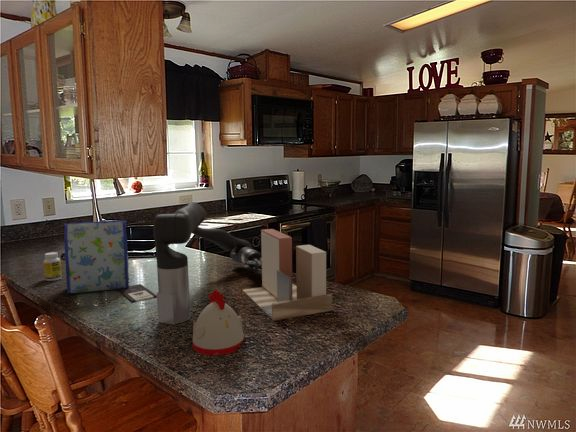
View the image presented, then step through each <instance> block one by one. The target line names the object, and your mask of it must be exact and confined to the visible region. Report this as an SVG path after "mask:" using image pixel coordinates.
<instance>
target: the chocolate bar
mask: <svg viewBox="0 0 576 432" xmlns="http://www.w3.org/2000/svg"><path fill="white" fill-rule="evenodd" d="M116 290H117V291H118V293H120V294H121V295H122V296H123V297H125V298H126V299H127V300H128V301H129V302H131V303H137V302H141V301H145V300H146V301H147V300H150V299H151V300H152V299H154V298H156V299H157V294H155V293H154V292H153V291H151V290H150V289H148V288H147V287H146V286H144V285H143V284H141V283H140V284H134V285H129V288H121V289H116Z"/></svg>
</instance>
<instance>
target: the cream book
mask: <svg viewBox="0 0 576 432" xmlns="http://www.w3.org/2000/svg"><path fill="white" fill-rule="evenodd" d="M295 252H296V254H295V259H296V260H295V262H296V263H295V266H296V267H295V269H296V270H295V271H296V276H295V277H296V282H295V283H296V284H295V285H296V286H297V299H301V298H307V297H313V296H320V295H326V294H327V251H324V250H323V249H320V248H318V247H315V246H314V245H312V244H302V245H296V246H295Z"/></svg>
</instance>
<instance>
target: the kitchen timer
mask: <svg viewBox="0 0 576 432" xmlns="http://www.w3.org/2000/svg"><path fill="white" fill-rule="evenodd" d="M208 297H209V298H208V299H209V303H208V304H207V305H206V306H205V307H204V308H203V309H202V310H201V312H200V314H199V316H198V317H197V319H196V321H193V327H192V329H193V330H192V333H193V334H192V348H193V350H194V351H195V352H197V353H198V354H202V355H206V356H222V355H228V354H231V353H235V352H236V351H238V350H240V345H242V343H243V342H244V340H245V335H244V330H243V320H242V317H241V315H237V313H236V312H235V310H234V309H233V308H232V307H231V306H230V305H229V304H228V303H227V302H226V299H224V294H223V293H220V290H217V289H214V290H213V292H211V294H209V295H208Z"/></svg>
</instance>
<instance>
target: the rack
mask: <svg viewBox="0 0 576 432" xmlns="http://www.w3.org/2000/svg"><path fill="white" fill-rule="evenodd" d="M242 291H243V292H244V293H245V294H246V295H247V296H248V297H249V298H250V299H251V300H252V301H253V302H254V303H255V305H256V304H257V306H259V308H261V309H262V307H263V306H269V305H272V318H271V319H272V320H273V321H280V320H284V319H291V318H296V317H302V316H308V315H312V314H313V315H314V314H319V313H324V312H325V313H326V312H331V311H333V295H332V294H331V293H328V294H327V293H326V295H320V296H313V297H307V298H301V299H297V284H294V283H293V282H292V300H288V301H282V302H277V299H276V298H275V297H274V296H273V295H271V294H270V293H269V292H268V291H267V290H265V289H264V288H263V287H262V286H261V287H252V288H245V289H242Z"/></svg>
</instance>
